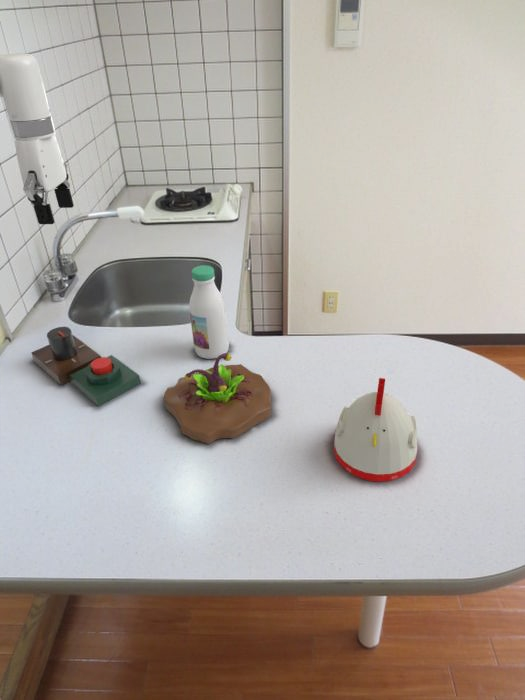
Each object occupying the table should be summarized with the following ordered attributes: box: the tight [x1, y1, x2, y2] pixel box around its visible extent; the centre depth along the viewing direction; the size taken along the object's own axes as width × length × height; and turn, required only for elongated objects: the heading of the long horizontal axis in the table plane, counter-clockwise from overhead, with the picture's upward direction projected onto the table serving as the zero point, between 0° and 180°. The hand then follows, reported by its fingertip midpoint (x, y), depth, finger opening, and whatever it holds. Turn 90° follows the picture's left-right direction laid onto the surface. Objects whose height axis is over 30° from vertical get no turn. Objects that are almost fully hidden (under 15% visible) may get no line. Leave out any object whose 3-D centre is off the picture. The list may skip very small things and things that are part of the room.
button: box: [91, 356, 113, 375], centre depth 107 cm, size 4×4×2 cm
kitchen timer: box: [333, 377, 419, 483], centre depth 86 cm, size 14×14×15 cm
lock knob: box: [46, 326, 77, 360], centre depth 114 cm, size 5×5×6 cm
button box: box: [70, 354, 142, 407], centre depth 109 cm, size 11×10×4 cm
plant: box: [163, 352, 272, 445], centre depth 99 cm, size 20×20×11 cm
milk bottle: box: [188, 264, 230, 360], centre depth 113 cm, size 8×8×20 cm
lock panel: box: [30, 334, 102, 386], centre depth 116 cm, size 13×10×3 cm
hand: (57, 215), depth 110 cm, fingers open, 9 cm apart
